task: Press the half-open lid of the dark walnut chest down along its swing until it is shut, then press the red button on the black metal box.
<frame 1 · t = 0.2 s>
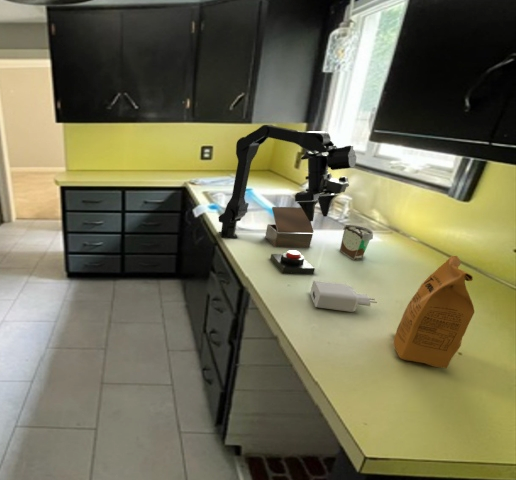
hand: (318, 218, 123), 15 cm above the worktop, tool pointing down, fingers open, 9 cm apart
button box: (290, 266, 124), on the worktop
food container: (354, 255, 134), on the worktop
lid: (292, 219, 142), point 10 cm above the worktop, hinge at 35.0°
chest: (286, 242, 147), on the worktop
coffee package: (418, 353, 81), on the worktop
charger: (342, 305, 101), on the worktop
button: (293, 254, 122), point 4 cm above the worktop, slide at 0.1 cm
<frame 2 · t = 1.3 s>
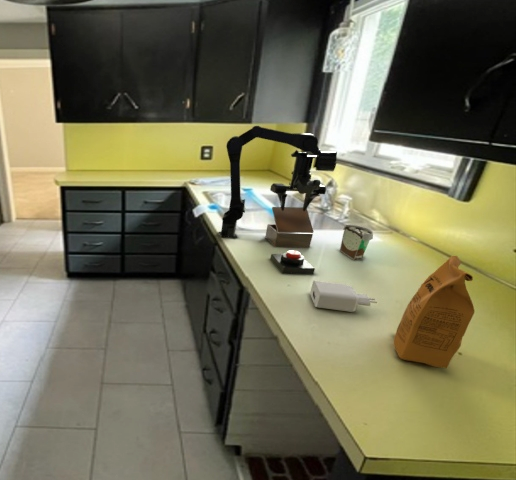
hand: (293, 210, 141), 13 cm above the worktop, tool pointing down, fingers open, 8 cm apart
nothing on the worktop moved.
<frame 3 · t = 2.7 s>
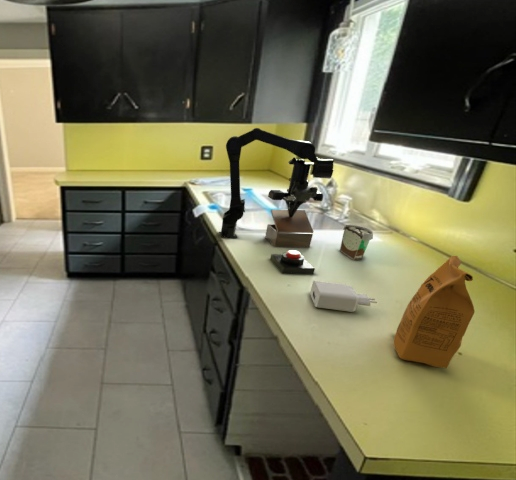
hand: (290, 217, 143), 10 cm above the worktop, tool pointing down, fingers closed, pressing on lid
lid: (291, 221, 143), point 9 cm above the worktop, hinge at 27.2°, touching gripper
everything else where it was.
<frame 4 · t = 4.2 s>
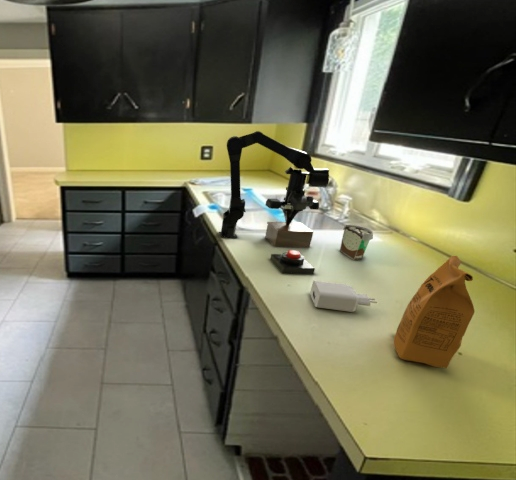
hand: (287, 225, 146), 7 cm above the worktop, tool pointing down, fingers closed, pressing on lid
lid: (289, 227, 144), point 6 cm above the worktop, hinge at 0.0°, touching gripper
everything else where it was.
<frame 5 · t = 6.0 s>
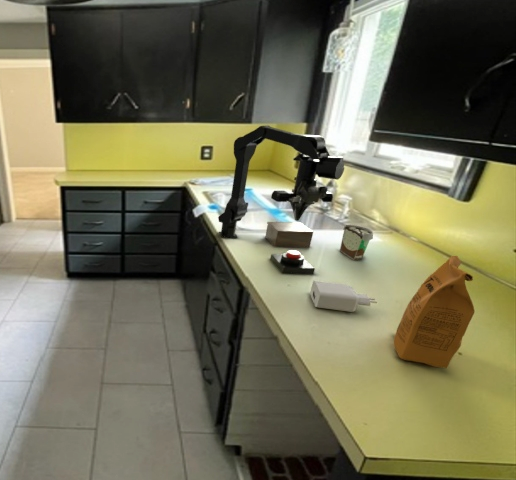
hand: (296, 220, 128), 13 cm above the worktop, tool pointing down, fingers closed
lid: (289, 227, 144), point 6 cm above the worktop, hinge at 0.0°
everything else where it was.
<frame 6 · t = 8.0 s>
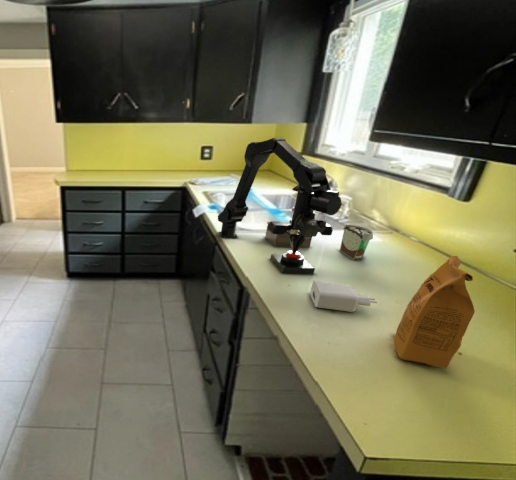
hand: (293, 252, 122), 5 cm above the worktop, tool pointing down, fingers closed, pressing on button
button: (293, 254, 123), point 4 cm above the worktop, slide at 0.0 cm, touching gripper
everything else where it was.
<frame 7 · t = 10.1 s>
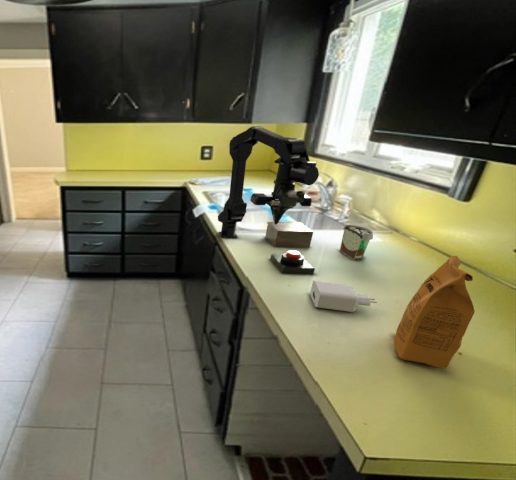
hand: (275, 223, 127), 12 cm above the worktop, tool pointing down, fingers closed
button: (293, 254, 122), point 4 cm above the worktop, slide at 0.1 cm
everything else where it was.
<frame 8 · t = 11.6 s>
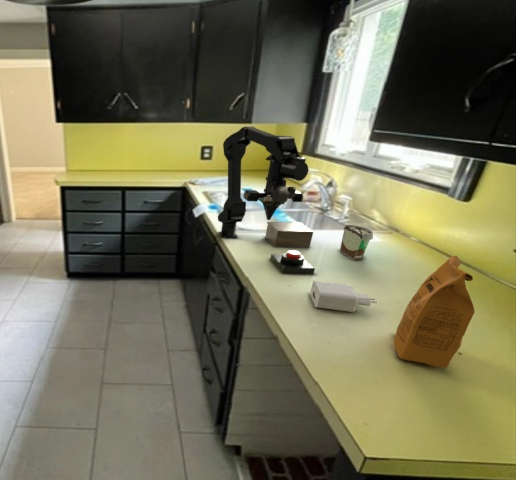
hand: (268, 219, 130), 13 cm above the worktop, tool pointing down, fingers closed
nothing on the worktop moved.
at the end: lid at +0° (first picture: +35°); button pushed in 1.1 cm at the most during the clip, back to where it started at the end; button slide at 0.1 cm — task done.
